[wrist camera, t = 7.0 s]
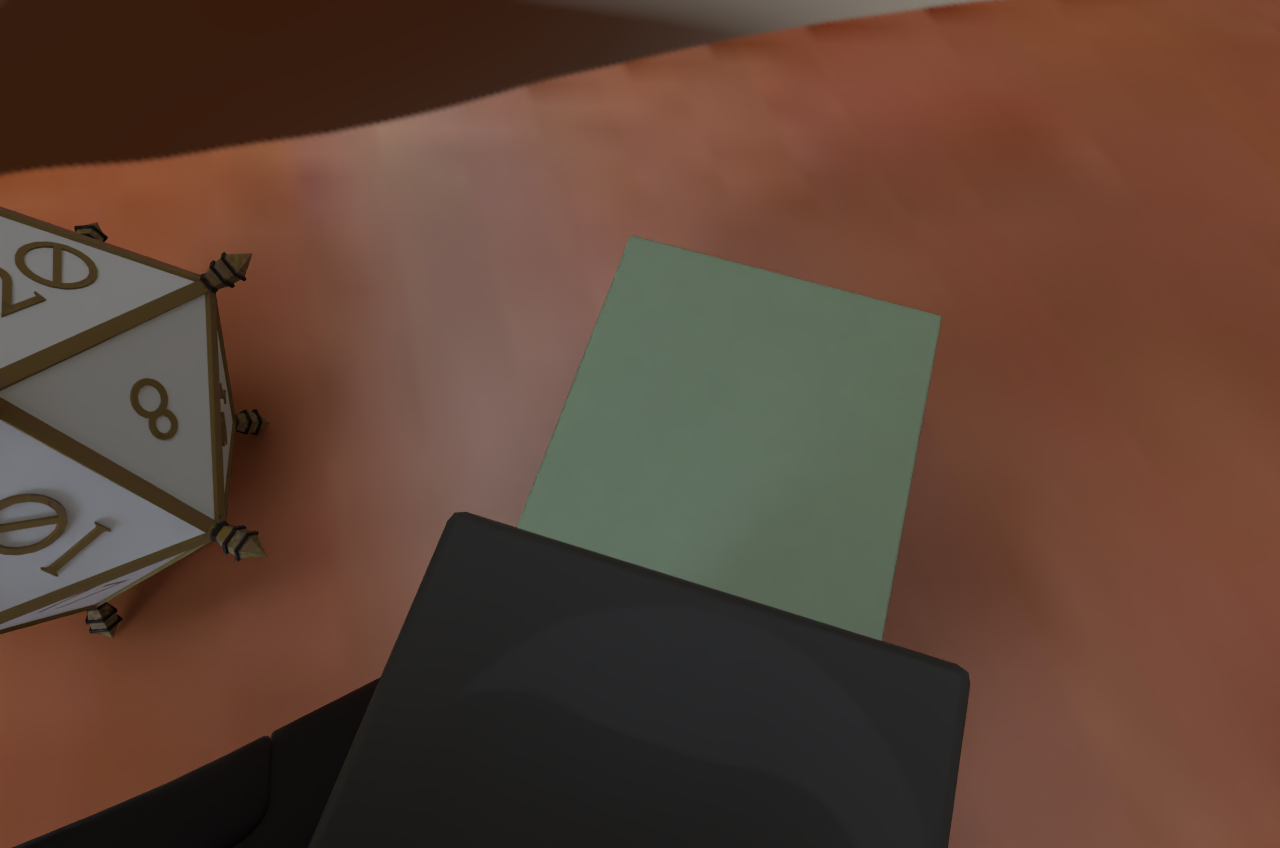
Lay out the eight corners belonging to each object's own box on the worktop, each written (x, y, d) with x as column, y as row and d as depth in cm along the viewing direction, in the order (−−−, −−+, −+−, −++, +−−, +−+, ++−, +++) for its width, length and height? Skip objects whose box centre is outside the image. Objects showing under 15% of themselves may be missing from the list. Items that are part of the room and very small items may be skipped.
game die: (198, 477, 21) (49, 70, 16) (426, 578, 17) (315, 77, 12) (-253, 707, 15) (-722, 144, 10) (-60, 959, 11) (-698, 211, 6)
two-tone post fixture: (783, 928, 14) (1593, 1759, 2) (449, 808, 15) (-311, 940, 3) (893, 388, 18) (1365, -319, 7) (630, 316, 19) (624, -435, 7)
